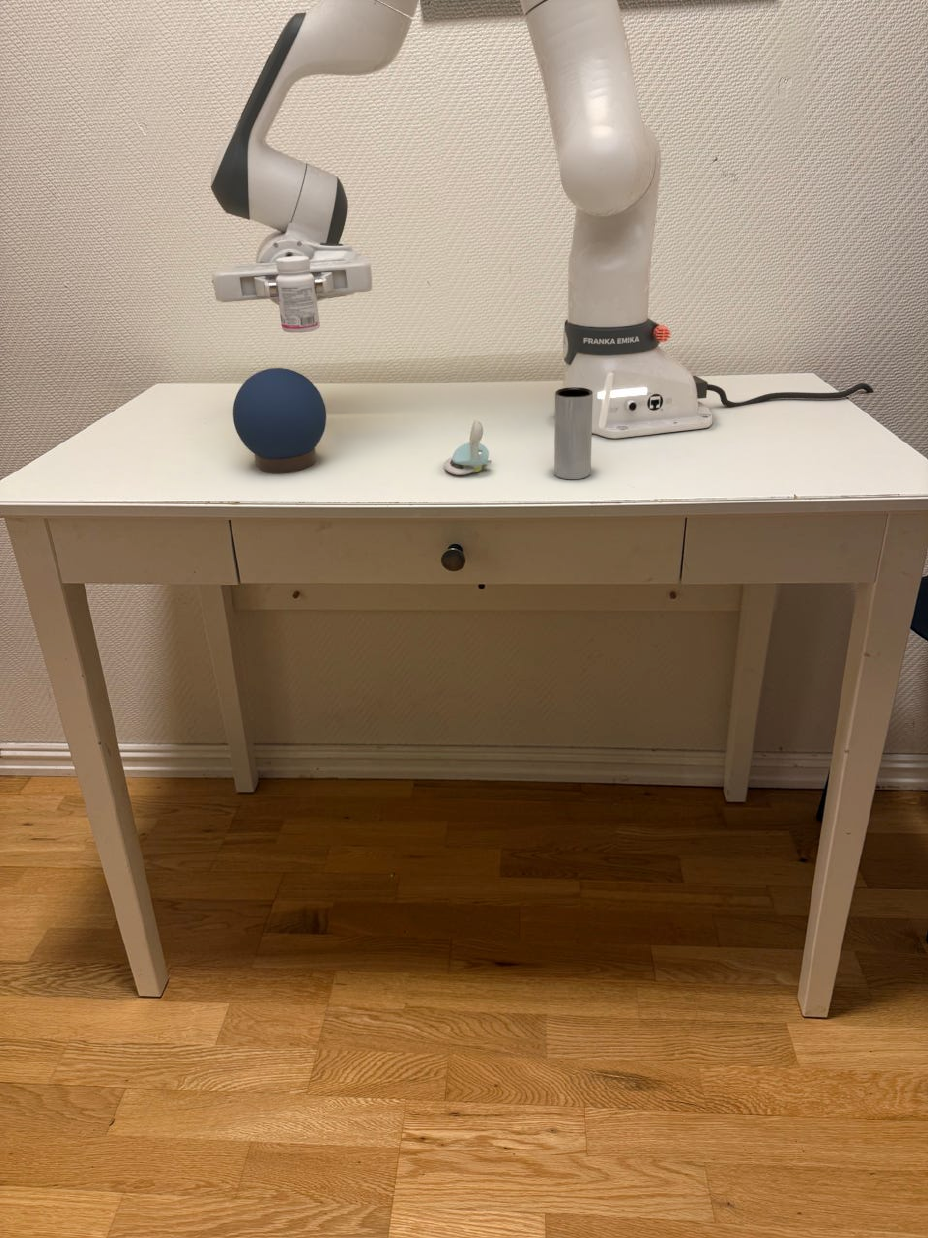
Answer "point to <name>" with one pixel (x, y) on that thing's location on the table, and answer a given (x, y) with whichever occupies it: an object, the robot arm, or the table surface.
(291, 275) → the pill bottle
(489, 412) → the table surface
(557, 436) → the grey cylinder
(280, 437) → the ball
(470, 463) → the pacifier
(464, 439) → the table surface
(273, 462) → the ball stand
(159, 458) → the table surface
